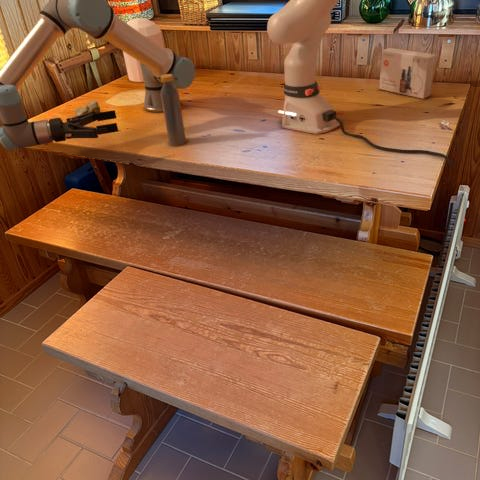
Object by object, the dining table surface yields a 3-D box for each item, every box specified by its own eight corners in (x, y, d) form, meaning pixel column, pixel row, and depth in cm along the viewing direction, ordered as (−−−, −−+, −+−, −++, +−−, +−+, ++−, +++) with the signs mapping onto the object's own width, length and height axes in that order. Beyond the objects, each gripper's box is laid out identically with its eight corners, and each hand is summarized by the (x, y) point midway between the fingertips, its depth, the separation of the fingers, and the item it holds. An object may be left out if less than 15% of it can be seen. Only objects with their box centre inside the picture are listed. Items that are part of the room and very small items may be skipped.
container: (160, 81, 233) (149, 21, 217) (121, 82, 238) (108, 23, 222) (174, 69, 249) (165, 13, 233) (138, 70, 254) (126, 15, 238)
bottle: (169, 146, 163) (157, 80, 150) (169, 140, 168) (158, 75, 155) (186, 144, 163) (175, 78, 150) (186, 138, 168) (176, 73, 155)
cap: (160, 82, 151) (160, 78, 151) (161, 79, 155) (160, 74, 154) (173, 81, 152) (172, 76, 151) (173, 78, 155) (172, 73, 154)
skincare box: (377, 89, 194) (381, 50, 185) (385, 86, 197) (389, 47, 188) (423, 99, 180) (429, 56, 171) (430, 95, 183) (437, 53, 174)
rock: (77, 116, 202) (75, 120, 193) (73, 101, 199) (71, 104, 190) (102, 112, 204) (101, 116, 195) (98, 97, 201) (98, 100, 192)
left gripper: (57, 129, 164) (117, 119, 168) (52, 156, 144) (121, 144, 147) (50, 108, 160) (112, 98, 163) (44, 133, 139) (115, 121, 143)
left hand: (116, 120), depth 155 cm, fingers open, 13 cm apart
